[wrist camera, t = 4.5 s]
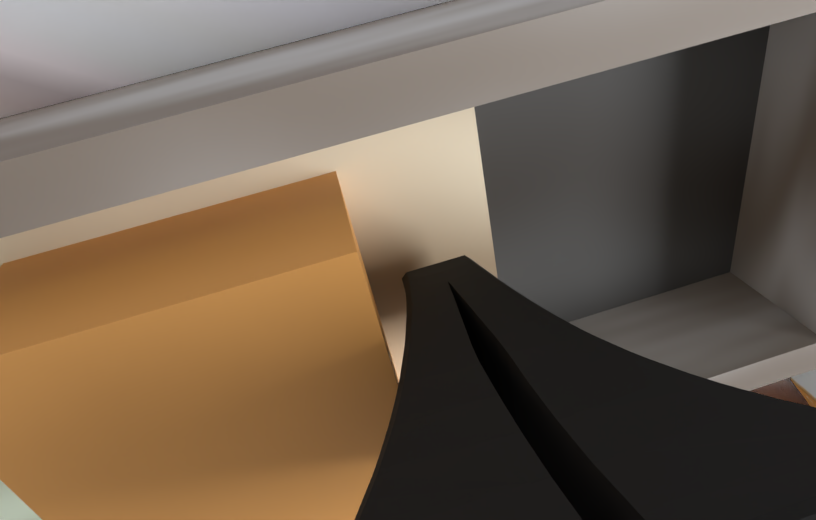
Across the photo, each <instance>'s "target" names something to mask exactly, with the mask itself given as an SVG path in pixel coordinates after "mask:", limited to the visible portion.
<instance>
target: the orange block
mask: <svg viewBox="0 0 816 520" xmlns="http://www.w3.org/2000/svg"><path fill="white" fill-rule="evenodd" d="M398 384H399V379H398V376H397V373H396V369H395V366H394V363H393V359H392V356H391V353H390V349H389V346H388V343H387V339H386V336H385V333H384V329H383V326H382V323H381V319H380V316H379V313H378V310H377V306H376V303H375V300H374V296H373V293H372V290H371V286H370V283H369V280H368V276H367V273H366V270H365V266H364V263H363V260H362V256H361V253H360V250H359V246H358V243H357V240H356V236H355V233H354V230H353V226H352V223H351V220H350V216H349V213H348V210H347V207H346V203H345V200H344V197H343V193H342V190H341V187H340V183H339V180H338V177H337V173H336V171H334V172H331V173H327V174H324V175H320V176H316V177H313V178H309V179H306V180H302V181H298V182H295V183H291V184H288V185H284V186H280V187H277V188H273V189H270V190H266V191H262V192H259V193H255V194H252V195H248V196H244V197H241V198H237V199H234V200H230V201H226V202H223V203H219V204H216V205H212V206H208V207H205V208H201V209H198V210H194V211H190V212H187V213H183V214H180V215H176V216H172V217H169V218H165V219H161V220H158V221H154V222H151V223H147V224H143V225H140V226H136V227H133V228H129V229H125V230H122V231H118V232H115V233H111V234H107V235H104V236H100V237H97V238H93V239H89V240H86V241H82V242H79V243H75V244H71V245H68V246H64V247H61V248H57V249H53V250H50V251H46V252H43V253H39V254H35V255H32V256H28V257H25V258H21V259H17V260H14V261H10V262H7V263H3V264H2V266H1V267H0V480H1V481H2V482H3V483H4V484H5V485H6V486H7V487H8V488H10V489H11V490H12V491H13V492H14V493H15V494H16V495H17V496H18V497H19V498H20V499H21V500H22V501H23V502H24V503H25V504H26V505H27V506H28V507H29V508H31V509H32V510H33V511H34V512H35V513H36V514H37V515H38V516H39V517H40V518H41V519H42V520H355V517H356V515H357V512H358V510H359V507H360V505H361V502H362V500H363V497H364V495H365V492H366V490H367V488H368V485H369V483H370V480H371V478H372V475H373V472H374V469H375V467H376V464H377V461H378V458H379V455H380V452H381V448H382V445H383V442H384V439H385V435H386V432H387V429H388V426H389V422H390V418H391V414H392V410H393V406H394V403H395V398H396V394H397V389H398Z"/></svg>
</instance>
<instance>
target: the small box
mask: <svg viewBox="0 0 816 520" xmlns="http://www.w3.org/2000/svg"><path fill="white" fill-rule="evenodd" d="M791 381H792V382H793V384H794V385H795V386H796V387H797V389H798V390H799V391H800V392H801V394H802V395H803V397H804V398H805V399H806V401H807V402H808V404H809V405H810V406H811V407H816V369H815V370H812V371H809V372H806V373H802V374H799V375H796V376H793V377H791Z"/></svg>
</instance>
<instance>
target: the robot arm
mask: <svg viewBox="0 0 816 520" xmlns="http://www.w3.org/2000/svg"><path fill="white" fill-rule="evenodd" d="M402 281H403V285H404V289H405V293H406V312H407V317H406V333H405V345H404V353H403V359H402V366H401V373H400V379H399V384H398V389H397V394H396V398H395V403H394V406H393V410H392V414H391V418H390V422H389V426H388V429H387V432H386V435H385V439H384V442H383V445H382V448H381V452H380V455H379V458H378V461H377V464H376V467H375V469H374V472H373V475H372V478H371V480H370V483H369V485H368V488H367V490H366V492H365V495H364V497H363V500H362V502H361V505H360V507H359V510H358V512H357V515H356V517H355V520H816V407H811V406H807V405H802V404H798V403H793V402H789V401H784V400H780V399H776V398H772V397H768V396H765V395H761V394H758V393H754V392H750V391H747V390H743V389H740V388H736V387H733V386H729V385H725V384H722V383H719V382H715V381H712V380H709V379H706V378H703V377H699V376H696V375H693V374H690V373H687V372H684V371H682V370H679V369H676V368H673V367H670V366H668V365H665V364H662V363H659V362H656V361H654V360H651V359H648V358H646V357H643V356H641V355H638V354H636V353H633V352H630V351H628V350H626V349H623V348H621V347H619V346H617V345H614V344H612V343H610V342H608V341H605V340H603V339H601V338H599V337H596V336H594V335H592V334H590V333H588V332H586V331H584V330H582V329H580V328H578V327H576V326H574V325H573V324H571V323H569V322H567V321H565V320H563V319H562V318H560V317H558V316H556V315H554V314H553V313H551V312H549V311H548V310H546V309H544V308H542V307H541V306H539V305H538V304H536V303H534V302H533V301H531V300H530V299H528V298H526V297H525V296H523V295H522V294H520V293H519V292H517V291H515V290H514V289H512V288H511V287H509V286H508V285H507V284H505V283H504V282H502V281H501V280H499V279H498V278H496V277H495V276H494V275H492V274H491V273H489V272H488V271H487V270H485V269H484V268H483V267H481V266H480V265H479V264H477V263H476V262H475V261H473V260H472V259H470V258H469V257H467V256H465V255H463V256H460V257H457V258H453V259H450V260H446V261H443V262H440V263H436V264H433V265H429V266H426V267H423V268H419V269H416V270H412V271H409V272H406V273H405V275H404V276H403V278H402Z"/></svg>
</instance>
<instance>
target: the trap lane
mask: <svg viewBox="0 0 816 520" xmlns="http://www.w3.org/2000/svg"><path fill="white" fill-rule="evenodd" d="M334 171H336V173H337V177H338V180H339V183H340V187H341V190H342V193H343V197H344V200H345V203H346V207H347V210H348V213H349V216H350V220H351V223H352V226H353V230H354V233H355V236H356V240H357V243H358V246H359V250H360V253H361V256H362V260H363V263H364V266H365V270H366V273H367V276H368V280H369V283H370V286H371V290H372V293H373V296H374V300H375V303H376V306H377V310H378V313H379V316H380V319H381V323H382V326H383V329H384V333H385V336H386V339H387V343H388V346H389V349H390V353H391V356H392V359H393V363H394V366H395V369H396V373H397V376H398V379H400V373H401V366H402V359H403V353H404V345H405V333H406V317H407V312H406V293H405V289H404V285H403V281H402V278H403V276H404V275H405V273H406V272H409V271H412V270H416V269H419V268H423V267H426V266H429V265H433V264H436V263H440V262H443V261H446V260H450V259H453V258H457V257H460V256H463V255H465V256H467V257H469V258H470V259H472V260H473V261H475V262H476V263H477V264H479V265H480V266H481V267H483V268H484V269H485V270H487V271H488V272H489V273H491V274H492V275H494V276H495V277H496V278H498V279H499V280H501V281H502V282H504V283H505V284H507V285H508V286H509V287H511V288H512V289H514V290H515V291H517V292H519V293H520V294H522V295H523V296H525V297H526V298H528V299H530V300H531V301H533V302H534V303H536V304H538V305H539V306H541V307H542V308H544V309H546V310H548V311H549V312H551V313H553V314H554V315H556V316H558V317H560V318H562V319H563V320H565V321H567V322H569V323H571V324H573V325H574V326H576V327H578V328H580V329H582V330H584V331H586V332H588V333H590V334H592V335H594V336H596V337H599V338H601V339H603V340H605V341H608V342H610V343H612V344H614V345H617V346H619V347H621V348H623V349H626V350H628V351H630V352H633V353H636V354H638V355H641V356H643V357H646V358H648V359H651V360H654V361H656V362H659V363H662V364H665V365H668V366H670V367H673V368H676V369H679V370H682V371H684V372H687V373H690V374H693V375H696V376H699V377H703V378H706V379H709V380H712V381H715V382H719V383H722V384H725V385H729V386H733V387H736V388H740V389H743V390H747V391H751V390H754V389H757V388H760V387H763V386H766V385H769V384H772V383H775V382H778V381H781V380H784V379H787V378H790V377H793V376H796V375H799V374H802V373H806V372H809V371H812V370H815V369H816V0H454V1H450V2H446V3H442V4H438V5H434V6H431V7H427V8H423V9H419V10H415V11H411V12H408V13H404V14H400V15H396V16H392V17H389V18H385V19H381V20H377V21H373V22H369V23H366V24H362V25H358V26H354V27H350V28H346V29H343V30H339V31H335V32H331V33H327V34H323V35H320V36H316V37H312V38H308V39H304V40H300V41H297V42H293V43H289V44H285V45H281V46H278V47H274V48H270V49H266V50H262V51H258V52H255V53H251V54H247V55H243V56H239V57H235V58H232V59H228V60H224V61H220V62H216V63H212V64H209V65H205V66H201V67H197V68H193V69H189V70H186V71H182V72H178V73H174V74H170V75H167V76H163V77H159V78H155V79H151V80H147V81H144V82H140V83H136V84H132V85H128V86H124V87H121V88H117V89H113V90H109V91H105V92H101V93H98V94H94V95H90V96H86V97H82V98H78V99H75V100H71V101H67V102H63V103H59V104H56V105H52V106H48V107H44V108H40V109H36V110H33V111H29V112H25V113H21V114H17V115H13V116H10V117H6V118H2V119H0V267H1V266H2V264H3V263H7V262H10V261H14V260H17V259H21V258H25V257H28V256H32V255H35V254H39V253H43V252H46V251H50V250H53V249H57V248H61V247H64V246H68V245H71V244H75V243H79V242H82V241H86V240H89V239H93V238H97V237H100V236H104V235H107V234H111V233H115V232H118V231H122V230H125V229H129V228H133V227H136V226H140V225H143V224H147V223H151V222H154V221H158V220H161V219H165V218H169V217H172V216H176V215H180V214H183V213H187V212H190V211H194V210H198V209H201V208H205V207H208V206H212V205H216V204H219V203H223V202H226V201H230V200H234V199H237V198H241V197H244V196H248V195H252V194H255V193H259V192H262V191H266V190H270V189H273V188H277V187H280V186H284V185H288V184H291V183H295V182H298V181H302V180H306V179H309V178H313V177H316V176H320V175H324V174H327V173H331V172H334ZM0 520H42V519H41V518H40V517H39V516H38V515H37V514H36V513H35V512H34V511H33V510H32V509H31V508H29V507H28V506H27V505H26V504H25V503H24V502H23V501H22V500H21V499H20V498H19V497H18V496H17V495H16V494H15V493H14V492H13V491H12V490H11V489H10V488H8V487H7V486H6V485H5V484H4V483H3V482H2V481H1V480H0Z"/></svg>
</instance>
